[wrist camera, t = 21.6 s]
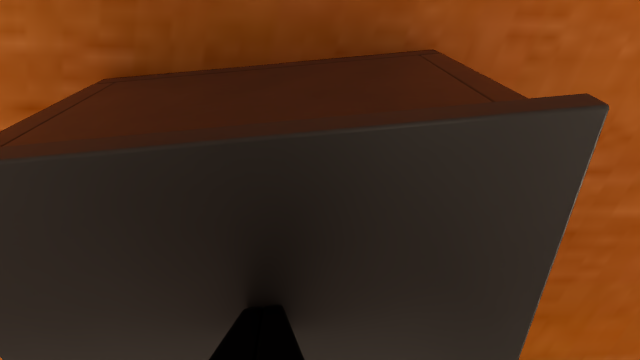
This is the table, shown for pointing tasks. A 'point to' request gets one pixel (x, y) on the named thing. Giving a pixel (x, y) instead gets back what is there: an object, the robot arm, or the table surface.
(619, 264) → the table surface
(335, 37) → the table surface
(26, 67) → the table surface
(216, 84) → the case
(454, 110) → the case lid
